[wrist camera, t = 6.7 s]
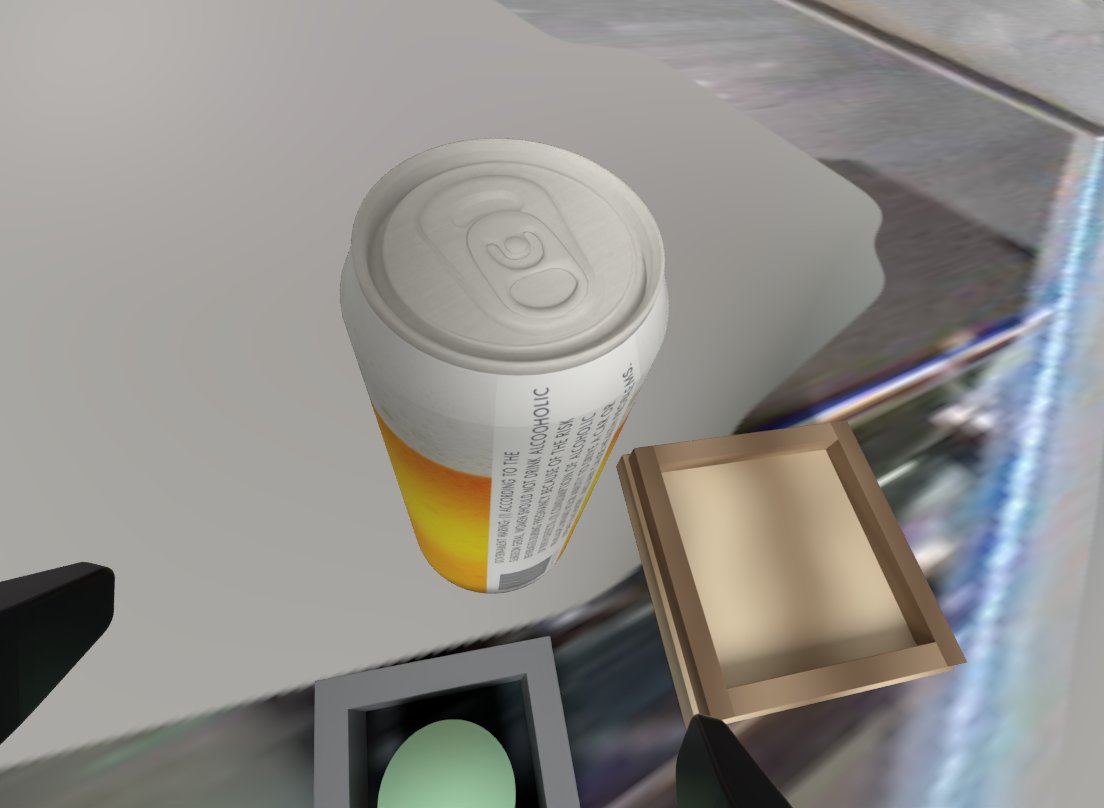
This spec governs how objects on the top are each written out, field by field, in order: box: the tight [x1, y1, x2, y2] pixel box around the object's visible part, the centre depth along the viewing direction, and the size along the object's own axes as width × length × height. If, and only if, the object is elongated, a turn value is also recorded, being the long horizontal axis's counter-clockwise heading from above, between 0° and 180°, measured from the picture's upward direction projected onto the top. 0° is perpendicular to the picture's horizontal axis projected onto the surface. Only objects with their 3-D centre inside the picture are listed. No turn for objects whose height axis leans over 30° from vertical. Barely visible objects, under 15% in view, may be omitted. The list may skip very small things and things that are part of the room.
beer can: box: [340, 138, 669, 593], centre depth 16 cm, size 6×6×15 cm
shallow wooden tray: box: [616, 420, 967, 730], centre depth 22 cm, size 10×10×2 cm
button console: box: [314, 636, 580, 808], centre depth 17 cm, size 7×7×3 cm
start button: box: [378, 719, 516, 808], centre depth 16 cm, size 4×4×2 cm
